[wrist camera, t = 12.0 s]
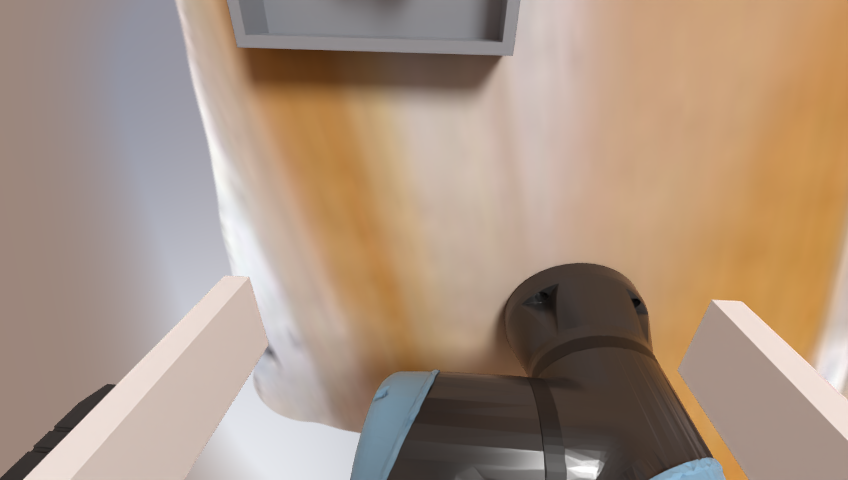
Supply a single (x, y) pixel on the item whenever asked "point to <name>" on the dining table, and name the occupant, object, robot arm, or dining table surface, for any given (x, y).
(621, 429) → the robot arm
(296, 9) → the bin
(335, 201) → the dining table surface
